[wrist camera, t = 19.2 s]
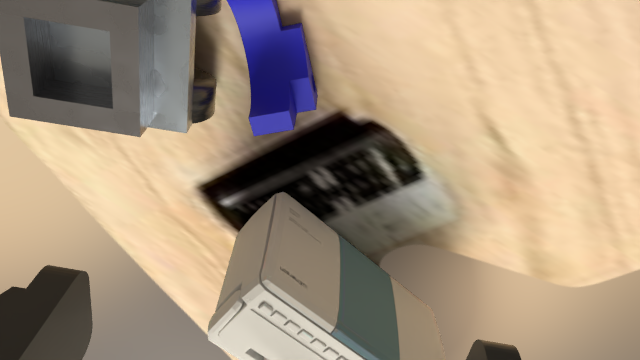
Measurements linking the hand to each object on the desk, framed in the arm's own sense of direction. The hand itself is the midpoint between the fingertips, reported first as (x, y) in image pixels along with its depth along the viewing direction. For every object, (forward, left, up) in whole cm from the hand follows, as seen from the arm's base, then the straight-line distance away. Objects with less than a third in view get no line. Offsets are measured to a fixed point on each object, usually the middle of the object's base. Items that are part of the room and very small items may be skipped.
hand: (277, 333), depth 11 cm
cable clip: (+4, +3, -34) cm, 34 cm away
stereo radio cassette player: (-5, +26, -33) cm, 42 cm away
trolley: (+14, +5, -33) cm, 36 cm away
